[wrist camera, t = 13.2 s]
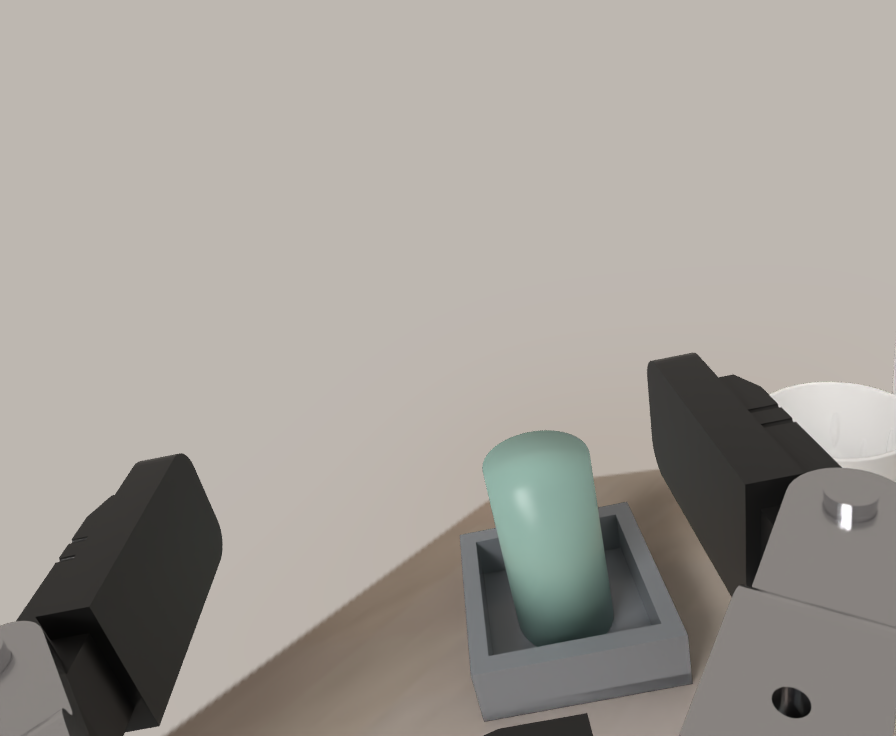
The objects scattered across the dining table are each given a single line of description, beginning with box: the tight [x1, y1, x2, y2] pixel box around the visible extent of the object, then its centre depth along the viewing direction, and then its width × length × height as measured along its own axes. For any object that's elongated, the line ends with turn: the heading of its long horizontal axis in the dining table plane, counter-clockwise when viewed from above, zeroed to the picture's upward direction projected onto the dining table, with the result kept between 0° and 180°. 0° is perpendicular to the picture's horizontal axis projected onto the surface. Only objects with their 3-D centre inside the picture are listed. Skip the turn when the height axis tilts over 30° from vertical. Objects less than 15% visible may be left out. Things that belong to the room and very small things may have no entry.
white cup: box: [769, 382, 896, 482], centre depth 38 cm, size 8×8×10 cm
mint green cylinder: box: [482, 430, 614, 647], centre depth 38 cm, size 6×6×11 cm
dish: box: [460, 502, 692, 722], centre depth 40 cm, size 11×11×4 cm
